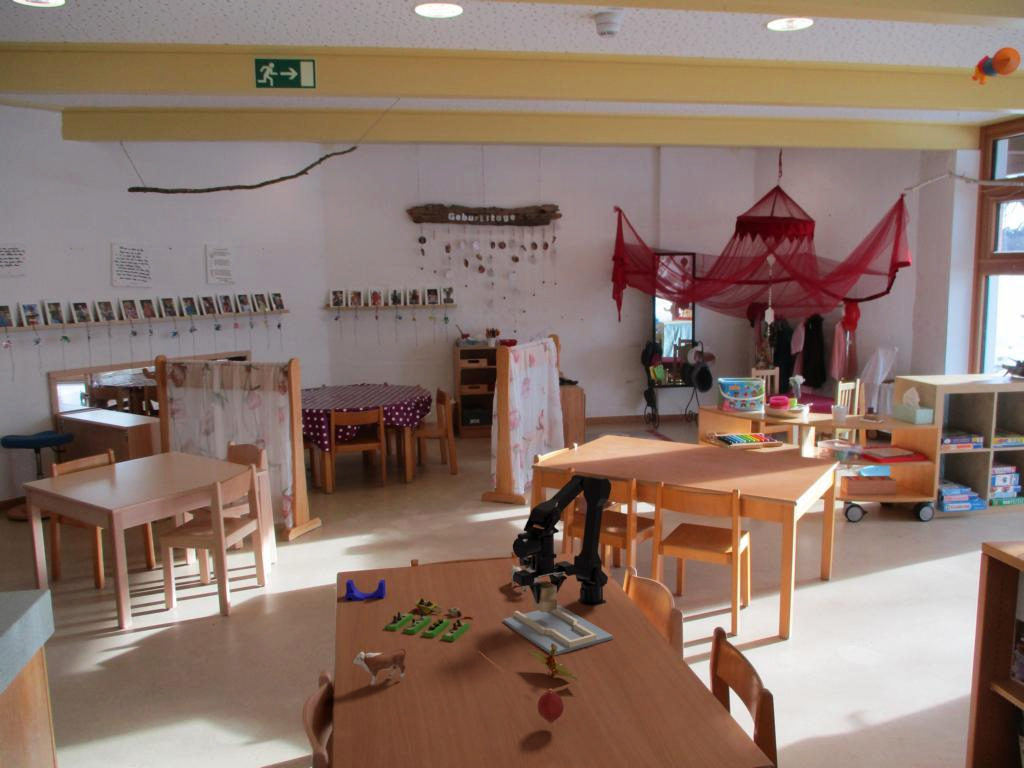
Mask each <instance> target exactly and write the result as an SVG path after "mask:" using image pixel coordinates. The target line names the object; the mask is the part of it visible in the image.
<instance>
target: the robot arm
mask: <svg viewBox="0 0 1024 768" xmlns="http://www.w3.org/2000/svg"><path fill="white" fill-rule="evenodd" d="M611 490H612V483H611V482H610V480H609V479H608V478H605V477H600V476H595V475H583V474H579V473H576V474H573V475H572V476H571V478H570V480H569V481H568V482H566V483H565V485H563V487H561V488H560V490H558V491H557V492H555V494H553V496H552V497H551V498H550V499H548V500H546V501H542V502H540V503H538V505H536V506H534V507H533V508H532V509H531V511H530V515H529V516H528V518H527V520H526V523H525V526H524V527H523V533H522V532H521V533H517V538H516V539H514V540H513V544H512V551H513V553H514V555H515V556H516V557H517V558H519V559H518V562H519V567H524V566H525V568H529V567H531V569H532V570H535V572H531V571H530V572H528V571H526V570H521V571H517V572H515V573H514V574H513V581H514V583H516V585H519V586H520V587H522V586H524V587H525V586H527V587H529V589H530V591H531V594H532V597H533V596H534V599H535V602H536V603H537V604H539V601H540V589H541V584H540V583H539V579H540V578H544V577H549V580H550V582H551V583H552V584H554V585H556V586H557V594H558V593H559V590H560V589H561V587H562V585H563V583H564V581H566V580H567V578H568V577H571V576H575V579H576V581H577V582H578V583H579V582H580V588H579V598H578V599H577V600H578V601H579V602H580V603H582V604H584V605H586V606H588V607H593V606H597V605H601V604H605V603H607V601H606V600H605V599H604V587H605V586H606V585H607V584H608V579H609V577H608V576H607V574H606V573H605V572H604V570H602V569H603V567H602V566H603V564H602V563H603V562H602V559H601V557H600V555H599V546H600V536H601V527H602V518H603V510H604V506H605V504H606V503H607V502H608V500H609V499H610V496H611ZM581 493H583V498H584V500H585V503H586V511H585V521H584V522H585V523H584V530H583V537H582V538H583V539H582V546H581V547H582V548H581V551H580V552H579V553H578V555H574V558H573V563H570V562H568V561H566V560H563V561H558V562H555V559H556V558H557V553H555V535H554V534H557V533H559V529H558V528H557V527H556V526H557V524H558V522H559V521H560V520H561V516H562V513H563V511H564V510H565V509H566V508H567V507H568V506H569V505H570V504H571V503H572V502H573V501H574V500H576V498H577V497H578V496H579V495H580V494H581ZM565 575H566V576H565Z"/></svg>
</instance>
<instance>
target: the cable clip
mask: <svg viewBox="0 0 1024 768" xmlns="http://www.w3.org/2000/svg"><path fill="white" fill-rule="evenodd" d="M354 583H355V582H354V580H353V579H347V581H346V583H345V587H346V589H345V590H346V592H345V594H344V595H345V596H344V597H345V601H348V600H350V599H351V601H359V602H361V601H365V600H367V599H368V600H371V599H372V600H374V599H378V598H379V597H381V599H384V598H385V597H386V596H387V594H386V579H380V580H379V581H378V585H377V589H375V590H374V591H372V592H369V593H368V592H367V593H366V592H363V591H361V590H359V589H358V588H357V587H356V586H355V584H354Z"/></svg>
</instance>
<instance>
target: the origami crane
mask: <svg viewBox="0 0 1024 768" xmlns="http://www.w3.org/2000/svg"><path fill="white" fill-rule="evenodd" d="M557 647H558V646H556V644H554V643H552V644H551V648H552V649H551V651H550V654H549V653H548V655H547V656H546V655H545V654H544V653H543V652H541V651H537V650H536V651H535V650H531V649H530V650H529V649H526V651H527V652H528V653H529V654H531V655H533V657H534V658H535V659H536V660H538V661H539V662H541V663H542V664H543V665H544V666H545V667H546V668H547V670H549V671H548V673H547V676H548V677H552V675H553V676H559V677H565V678H570V679H573V680H575V681H577V682H578V681H580V679H579V678H578V677H576V676H575V675H573V674H572V673H571V672H569V671H568V670H567V669H566V668H565V667H564V666H563V663H559V664H558V661H557V660H556V658H555V656H556V655H555V653H556V651H557ZM554 655H555V656H554ZM550 671H551V673H550Z"/></svg>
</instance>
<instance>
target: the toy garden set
mask: <svg viewBox="0 0 1024 768" xmlns="http://www.w3.org/2000/svg"><path fill="white" fill-rule="evenodd" d="M413 604H414V605H415V606H416V607H415V608H413V609H412V613H406V612H403V613H401V612H400V611H398V612H397V614H396V615H397V616H396V615H393V617H392V618H393V619H392V620H391V621H390V622H389V623H387V624H385V625H384V630H389V631H395V632H397V631H398V630H400V629H401V628H402V627H404V625H406V624H408V623H409V622H410V621H412V622H410V623H409V624H408V625H406V627H404V628H403V630H402V633H405V634H409V635H410V634H411V635H417V634H418V633H419V632H421V630H423V629H424V628H425V627H426V626H427V625H429V624H430V623H431V622H432V620H433V619H432V617H430V616H424V614H430V613H431V612H435V613H440V610H444V607H442V606H438V603H437V602H436V603H435V602H431V601H430V600H425V599H424V598H422V597H421V598H420V599H417V601H415V602H414V603H413ZM437 609H438V610H437ZM447 612H449V613H450V615H451V617H453V618H457V617H461V616H462V612H461V610H460V608H459V607H452V608H451V607H448V608H447ZM414 614H416V615H420V616H418V617H417V618H416V619H414V617H415V616H414ZM461 620H462V621H463V620H472V621H474V619H473V617H471V616H464V617H463V618H462V617H461V618H458V619H456V622H454V623H452V627H450V628H449V630H447V631H446V632H444V633H443V634H442V636H441V640H444V641H450V642H455V641H457V640H458V639H459V637H461V636H462V635H463V634H464V633H466V632H467V631H468V630H469V629H470V628H471V624H470V623H469V621H468V622H462V621H461ZM450 625H451V621H450V619H444V618H441V617H440V618H438V619H437V620H436V621H434V622H433V623H432V624H430V625H429V627H427V628H426V629H425V630H424V631H423V632H422V634H421V636H423V637H428V638H432V639H436V638H437V637H438V636H439V634H441V633H442V632H443V631H444V630H446V629H447V628H448V627H449V626H450Z"/></svg>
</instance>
